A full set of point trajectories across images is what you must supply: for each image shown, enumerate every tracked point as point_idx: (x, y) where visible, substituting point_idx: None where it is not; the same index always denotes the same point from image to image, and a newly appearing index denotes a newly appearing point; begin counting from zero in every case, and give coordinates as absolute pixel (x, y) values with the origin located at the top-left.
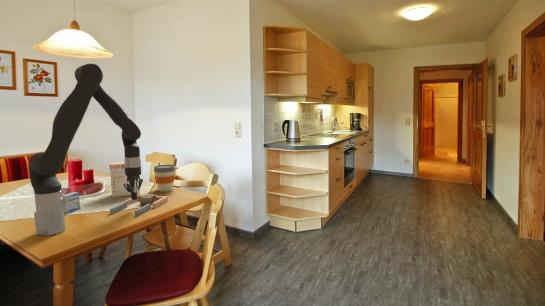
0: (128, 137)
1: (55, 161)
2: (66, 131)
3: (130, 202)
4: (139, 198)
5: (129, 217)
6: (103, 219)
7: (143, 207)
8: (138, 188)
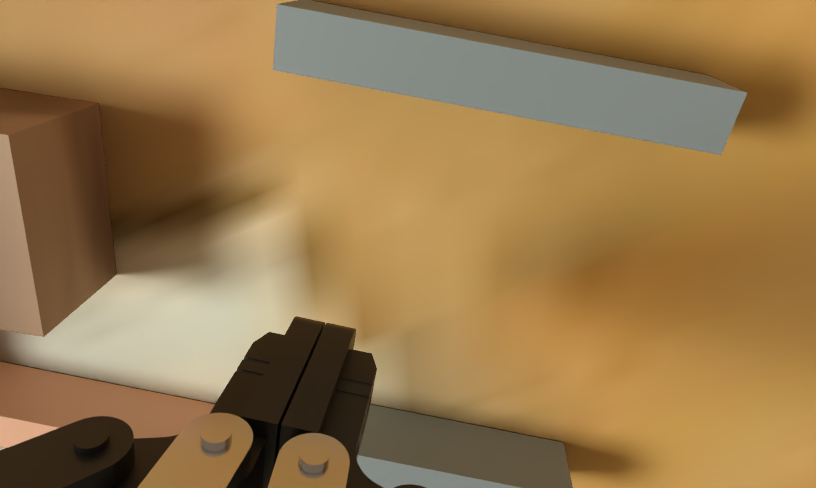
0: None
1: None
2: None
3: (142, 408)
4: None
5: (759, 184)
6: (768, 466)
7: (523, 62)
8: (115, 463)
